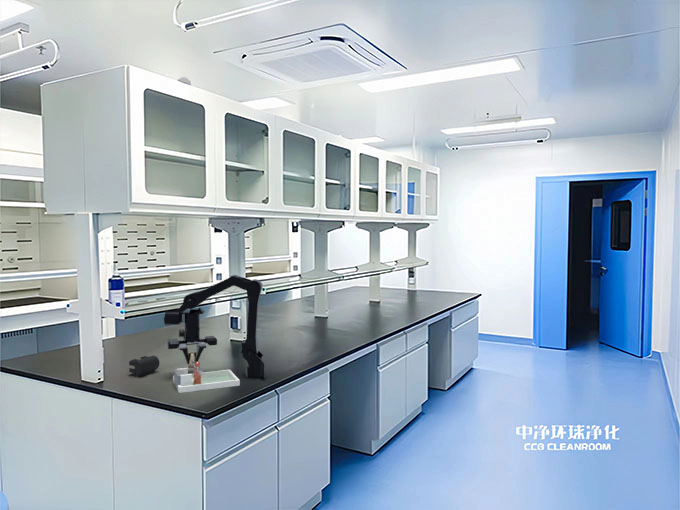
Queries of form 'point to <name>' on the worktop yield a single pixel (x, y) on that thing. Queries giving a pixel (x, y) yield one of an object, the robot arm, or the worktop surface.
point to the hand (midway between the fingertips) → (192, 363)
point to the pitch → (204, 380)
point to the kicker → (195, 367)
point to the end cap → (143, 365)
